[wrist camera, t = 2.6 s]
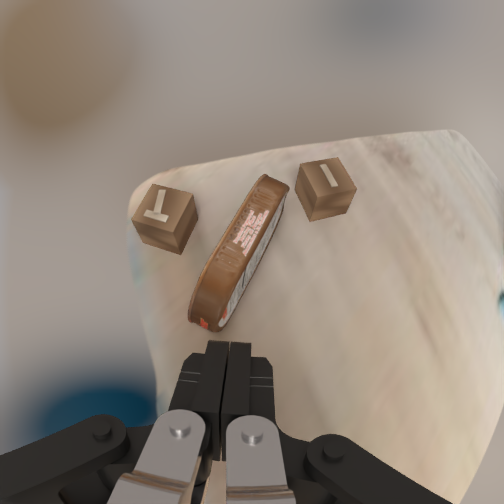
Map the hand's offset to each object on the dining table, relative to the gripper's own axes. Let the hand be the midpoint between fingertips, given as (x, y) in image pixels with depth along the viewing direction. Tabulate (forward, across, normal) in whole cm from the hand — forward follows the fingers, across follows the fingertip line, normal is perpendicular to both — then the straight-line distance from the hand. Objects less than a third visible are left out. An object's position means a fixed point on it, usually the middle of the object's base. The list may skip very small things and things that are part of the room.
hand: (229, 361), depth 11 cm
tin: (+20, 0, +4) cm, 21 cm away
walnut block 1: (+27, -8, -2) cm, 28 cm away
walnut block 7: (+23, +8, +1) cm, 25 cm away
